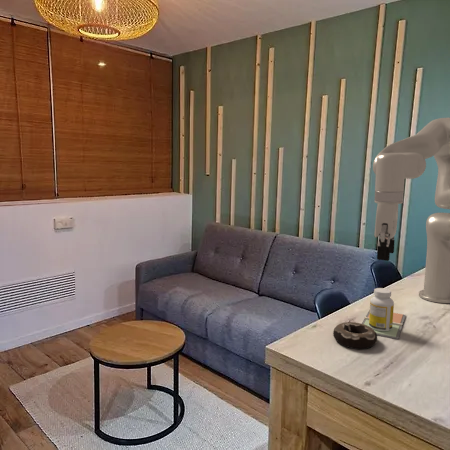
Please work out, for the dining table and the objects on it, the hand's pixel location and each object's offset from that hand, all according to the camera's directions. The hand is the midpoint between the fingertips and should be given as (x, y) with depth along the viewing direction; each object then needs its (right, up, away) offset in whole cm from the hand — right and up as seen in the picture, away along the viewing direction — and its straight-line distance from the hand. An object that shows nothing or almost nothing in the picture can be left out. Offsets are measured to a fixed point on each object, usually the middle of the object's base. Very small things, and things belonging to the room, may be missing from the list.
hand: (385, 256), depth 114 cm
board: (+2, -22, +8) cm, 23 cm away
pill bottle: (0, -22, +3) cm, 22 cm away
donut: (-11, -24, -4) cm, 26 cm away
